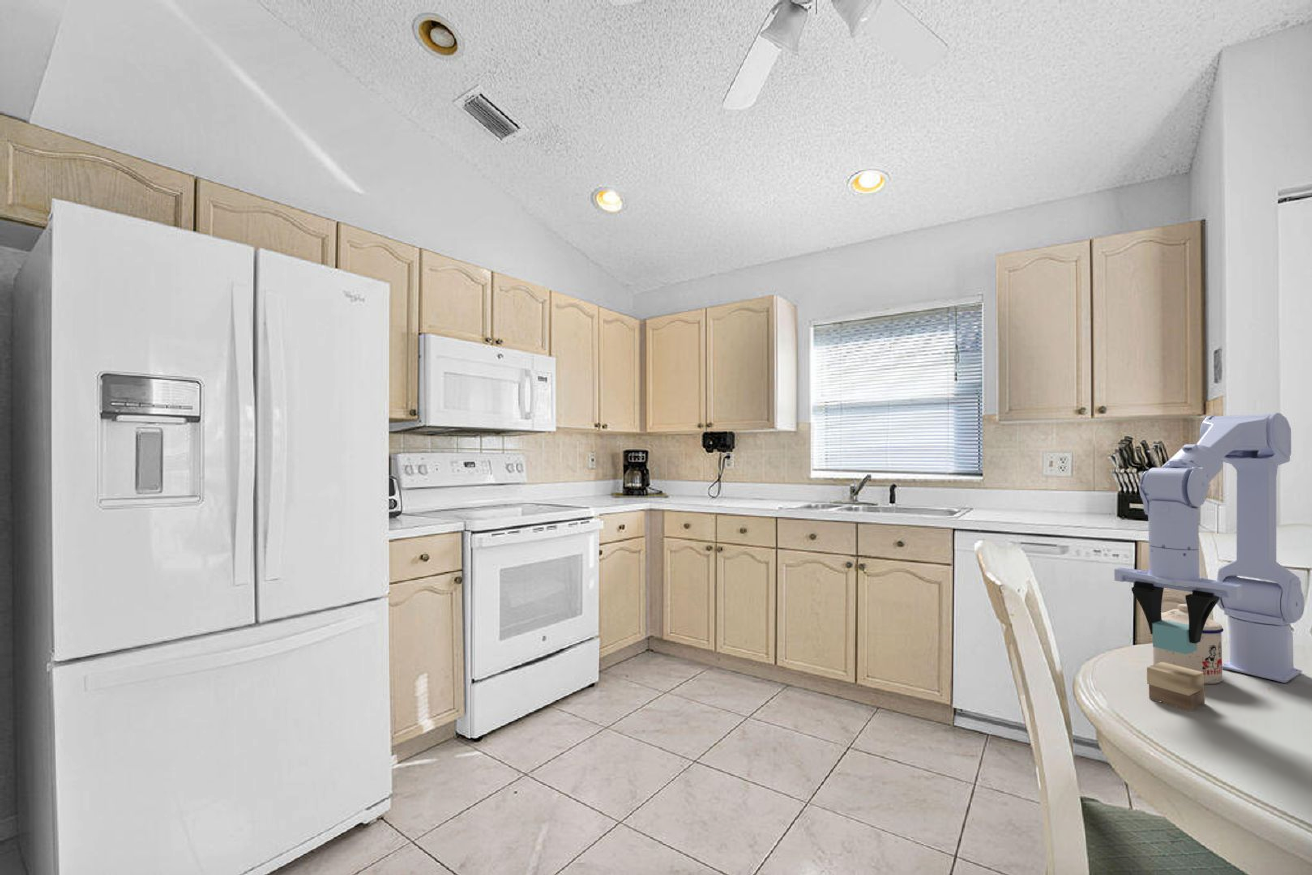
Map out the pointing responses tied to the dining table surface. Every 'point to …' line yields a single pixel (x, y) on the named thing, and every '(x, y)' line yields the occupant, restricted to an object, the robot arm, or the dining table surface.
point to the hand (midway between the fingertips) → (1174, 637)
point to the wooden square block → (1177, 698)
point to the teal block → (1172, 637)
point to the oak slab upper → (1175, 678)
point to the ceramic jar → (1207, 649)
